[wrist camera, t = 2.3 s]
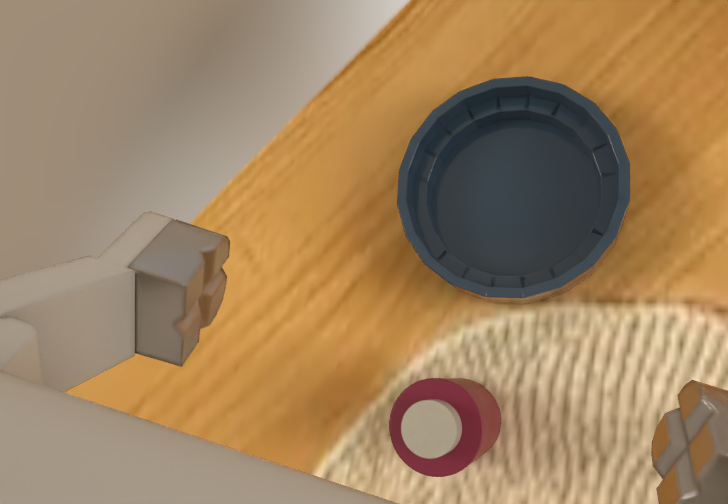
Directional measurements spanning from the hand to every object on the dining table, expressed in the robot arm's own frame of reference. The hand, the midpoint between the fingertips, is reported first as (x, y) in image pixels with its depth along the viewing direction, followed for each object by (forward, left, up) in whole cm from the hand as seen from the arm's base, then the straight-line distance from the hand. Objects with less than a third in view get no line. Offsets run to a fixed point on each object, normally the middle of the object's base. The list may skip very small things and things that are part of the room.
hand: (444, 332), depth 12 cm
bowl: (-5, -11, -37) cm, 39 cm away
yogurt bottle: (+7, 0, -37) cm, 38 cm away
